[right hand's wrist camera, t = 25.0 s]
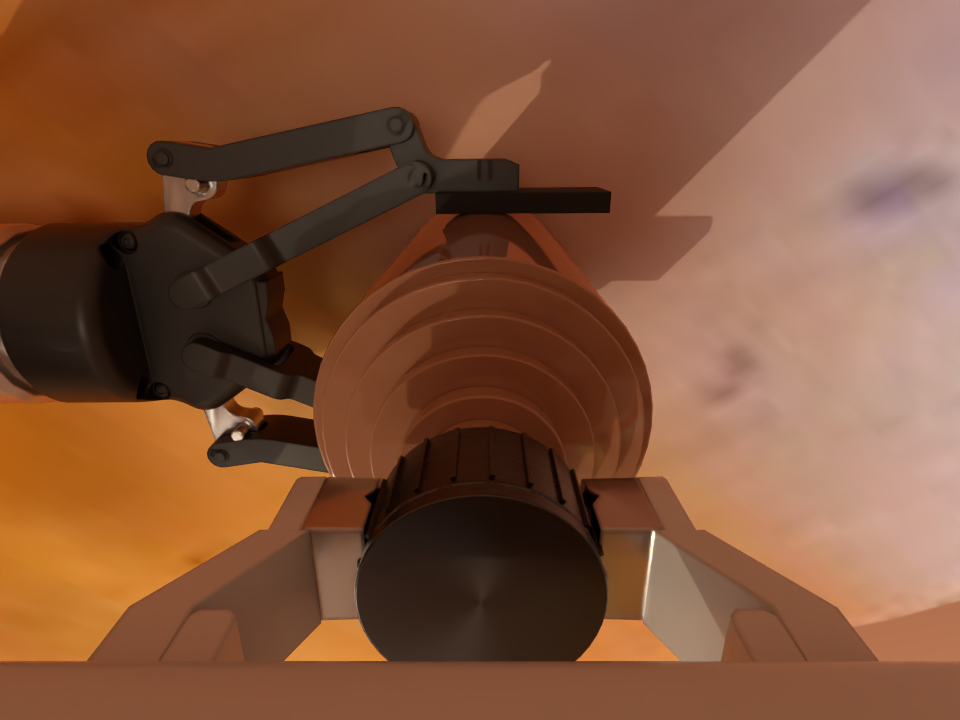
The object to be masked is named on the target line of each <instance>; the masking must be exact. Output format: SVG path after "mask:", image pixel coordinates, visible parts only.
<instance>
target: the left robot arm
mask: <svg viewBox="0 0 960 720" xmlns="http://www.w3.org/2000/svg"><path fill="white" fill-rule="evenodd" d="M389 147H390V149H391V152H392V154H393V157H394V159H395V162H396V164H397V167H398V168H396V169H394V170H393V171H391V172H389V173H387V174H385V175H383V176H381V177H379V178H377V179H375V180H373V181H371V182H369V183H367V184H365V185H363V186H361V187H359V188H357V189H355V190H353V191H351V192H349V193H347V194H345V195H344V196H342V197H340V198H338V199H336V200H334V201H332V202H330V203H328V204H326V205H324V206H322V207H320V208H318V209H316V210H314V211H312V212H310V213H308V214H306V215H304V216H302V217H300V218H298V219H296V220H295V221H293V222H291V223H289V224H287V225H285V226H283V227H281V228H279V229H277V230H275V231H273V232H271V233H269V234H267V235H265V236H263V237H261V238H259V239H257V240H254V241H252V242H250V243H246V242H245V241H243V240H242V239H240V238H238V237H237V236H235V235H234V234H232V233H231V232H229V231H228V230H226V229H225V228H223V227H222V226H220V225H219V224H217V223H216V222H214V221H212V220H211V219H209V218H208V217H206V216H205V215H203V214H202V213H201V207H202V205H203V203H204V202H205V201H206V200H209V199H214V198H219V197H221V196H222V195H223V194H224V193H225V191H226V189H227V181H228V180H235V179H243V178H250V177H257V176H262V175H266V174H271V173H275V172H280V171H284V170H289V169H294V168H298V167H303V166H307V165H312V164H316V163H321V162H325V161H330V160H334V159H339V158H344V157H348V156H353V155H357V154H362V153H366V152H371V151H375V150H380V149H385V148H389ZM147 159H148V163H149V164H150V166H151V167H152V169H153V170H155V171H156V172H157V173H159V174H162V175H163V191H164V213H161V214H159V215H157V216H155V217H154V218H152V219H151V220H149V221H147V222H136V223H53V224H48V225H44V226H41V225H36V224H32V223H6V224H0V403H48V402H55V401H61V402H148V401H157V400H177V401H180V402H183V403H186V404H188V405H190V406H192V407H195V408H198V409H202V410H204V411H205V414H206V417H207V419H208V422H209V425H210V427H211V430H212V433H213V435H214V438H215V442H214V443H213V444H212V445H211V446H210V448H209V449H208V452H207V455H208V459H209V460H210V462H211V463H213V464H214V465H216V466H218V467H230V466H237V465H244V464H251V463H258V462H264V463H270V464H277V465H283V466H289V467H295V468H302V469H308V470H314V471H320V472H327V473H329V472H328V470H327V468H326V466H325V464H324V462H323V459H322V456H321V453H320V450H319V447H318V443H317V438H316V432H315V427H314V420H313V419H307V418H301V417H295V416H288V415H263V411H262V410H261V409H260V408H258V407H254V408H246V407H242V406H240V405H239V404H237V402H236V401H235V400H234V398H233V397H235V396H236V395H237V394H239V393H240V392H241V391H243V390H244V389H245V388H248V389H251V390H254V391H256V392H259V393H261V394H264V395H266V396H269V397H272V398H275V399H281V400H282V399H293V400H296V401H298V402H301V403H303V404H306V405H309V406H311V407H313V401H314V392H315V383H316V380H317V376H318V372H319V368H320V364H321V362H322V359H323V358H321V357H319V356H317V355H315V354H314V353H313V351H312V350H311V349H310V348H308V347H306V346H304V345H302V344H299V343H297V342H294V341H292V340H291V333H290V325H289V322H288V319H287V317H286V314H285V312H284V309H283V306H282V304H283V297H284V290H285V287H284V280H283V272H278V271H277V269H276V267H277V266H279V265H281V264H283V263H285V262H287V261H289V260H291V259H293V258H295V257H297V256H299V255H301V254H303V253H305V252H307V251H309V250H311V249H313V248H315V247H317V246H319V245H321V244H323V243H325V242H327V241H329V240H331V239H333V238H335V237H337V236H339V235H341V234H343V233H345V232H347V231H349V230H351V229H353V228H355V227H357V226H359V225H361V224H363V223H365V222H367V221H369V220H371V219H373V218H375V217H377V216H379V215H381V214H383V213H385V212H387V211H389V210H391V209H393V208H395V207H397V206H399V205H401V204H403V203H405V202H407V201H409V200H411V199H413V198H415V197H417V196H419V195H421V194H424V193H435V194H436V214H520V213H610V201H611V192H610V191H607V190H604V189H601V188H598V187H557V188H519V164H516V163H514V162H511V161H509V160H507V159H442V158H439V157H436V156H435V155H434V154H432V153H431V151H430V150H429V149H428V147H427V145H426V142H425V139H424V137H423V134H422V132H421V129H420V124H419V122H418V119H417V118H416V117H415V116H414V114H412V113H410V112H409V111H407V110H405V109H402V108H400V107H391V108H386V109H382V110H377V111H373V112H368V113H364V114H359V115H355V116H351V117H346V118H342V119H337V120H333V121H328V122H324V123H319V124H315V125H311V126H306V127H302V128H297V129H293V130H288V131H284V132H279V133H275V134H271V135H266V136H262V137H257V138H253V139H248V140H244V141H239V142H235V143H231V144H226V145H222V146H219V145H213V144H206V143H200V142H188V141H156V142H154V143H152V144H151V145H150V146H149V148H148V150H147ZM275 364H276V365H275Z"/></svg>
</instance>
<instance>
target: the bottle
mask: <svg viewBox="0 0 960 720" xmlns="http://www.w3.org/2000/svg"><path fill="white" fill-rule="evenodd" d="M652 410H653V404H652V394H651V385H650V381H649V377H648V373H647V369H646V365H645V363H644V360H643V358H642V356H641V353H640V351H639V348H638V346H637V344H636V343H635V341H634V339H633V338H632V336H631V334H630V333H629V331H628V329H627V328H626V326H625V325H624V324H623V323H622V321H621V320H620V319H619V318H618V316H617V315H616V314H615V313H614V312H613V310H612V309H611V308H610V307H609V305H608V304H607V303H606V302H605V300H604V299H603V298H602V297H601V296H600V294H599V293H598V292H597V291H596V289H595V288H594V287H593V286H592V284H591V283H590V282H589V281H588V279H587V278H586V277H585V276H584V275H583V273H582V272H581V271H580V270H579V268H578V267H577V266H576V265H575V263H574V262H573V261H572V260H571V259H570V257H569V256H568V255H567V254H566V252H565V251H564V250H563V249H562V247H561V246H560V245H559V244H558V242H557V241H556V240H555V239H554V238H553V236H552V235H551V234H550V233H549V231H548V230H547V229H546V228H545V227H544V225H543V224H542V223H541V222H540V221H539V220H538V219H537V218H536V217H535V216H533V215H532V214H530V213H520V214H436V215H434V216H433V217H432V218H431V219H430V220H429V221H428V222H427V223H426V224H425V225H424V226H423V227H422V229H421V230H420V231H419V232H418V233H417V235H416V236H415V237H414V238H413V239H412V241H411V242H410V243H409V244H408V245H407V247H406V248H405V249H404V250H403V251H402V252H401V254H400V255H399V256H398V257H397V258H396V260H395V261H394V262H393V263H392V264H391V266H390V267H389V268H388V269H387V270H386V272H385V273H384V274H383V275H382V276H381V278H380V279H379V280H378V281H377V282H376V283H375V285H374V286H373V287H372V288H371V289H370V291H369V292H368V293H367V294H366V295H365V297H364V298H363V299H362V300H361V301H360V303H359V304H358V305H357V306H356V307H355V309H354V310H353V311H352V312H351V313H350V315H349V316H348V317H347V318H346V319H345V321H344V322H343V323H342V324H341V325H340V327H339V329H338V330H337V332H336V333H335V335H334V337H333V338H332V340H331V342H330V343H329V345H328V348H327V350H326V352H325V355H324V357H323V359H322V362H321V364H320V368H319V372H318V376H317V380H316V383H315V392H314V401H313V412H314V427H315V432H316V438H317V443H318V447H319V450H320V453H321V456H322V459H323V462H324V464H325V466H326V468H327V470H328V472H329V474H330V476H331V477H353V478H381V479H382V480H383V479H387V477H388V476H389V474H390V473H391V471H392V470H393V468H394V467H395V466H396V465H397V462H398V458H399V457H400V456H401V455H402V456H403V457H404V456H405V455H406V454H407V453H409V452H410V451H411V450H412V449H413V448H414V447H417V445H419V444H421V443H423V440H424V439H425V438H428V439H431V438H433V437H435V436H437V435H440V434H443V433H446V432H448V431H452V430H455V428H458V427H460V429H462V428H472V427H489V426H494V427H495V428H499V429H506V430H510V431H513V432H517V433H520V434H522V432H523V433H526V434H527V436H529V437H531V438H533V439H534V440H536V441H538V442H540V443H541V444H543V445H545V446H546V447H548V448H549V449H550V448H551V447H552V448H553V449H555V452H556V454H557V455H558V456H559V457H560V458H561V459H562V460H563V461H564V462H565V463H566V464H567V466H568V467H569V468H570V470H572V469H574V470H575V471H576V474H577V478H578V482H579V485H580V484H581V479H599V478H635V476H636V474H637V472H638V471H639V469H640V467H641V464H642V461H643V459H644V456H645V453H646V450H647V447H648V443H649V438H650V432H651V427H652Z"/></svg>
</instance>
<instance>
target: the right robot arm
mask: <svg viewBox="0 0 960 720" xmlns="http://www.w3.org/2000/svg"><path fill="white" fill-rule="evenodd" d="M381 482H382V479H381V478H353V477H328V478H327V477H301V478H298V479H297V480H296V481H295V483H294V485H293V487H292V488H291V490H290V492H289V494H288V496H287V497H286V499H285V501H284V503H283V504H282V506H281V508H280V510H279V512H278V513H277V515H276V517H275V519H274V520H273V522H272V524H271V526H270V528H269V529H268V530H259V531H257V532H256V533H254V534H252V535H250V536H249V537H247V538H245V539H244V540H242V541H240V542H239V543H237V544H235V545H233V546H232V547H230V548H228V549H227V550H225V551H223V552H221V553H220V554H218V555H216V556H215V557H213V558H211V559H210V560H208V561H206V562H204V563H203V564H201V565H199V566H198V567H196V568H194V569H192V570H191V571H189V572H187V573H186V574H184V575H182V576H181V577H179V578H177V579H175V580H174V581H172V582H170V583H169V584H167V585H165V586H163V587H162V588H160V589H158V590H157V591H155V592H153V593H152V594H150V595H148V596H146V597H145V598H143V599H141V600H140V601H138V602H136V603H134V604H133V605H131V606H129V607H128V609H127V610H126V611H125V612H124V614H123V615H122V616H121V618H120V619H119V620H118V622H117V623H116V624H115V625H114V627H113V628H112V629H111V631H110V632H109V633H108V634H107V636H106V637H105V638H104V640H103V641H102V642H101V643H100V645H99V646H98V647H97V649H96V650H95V651H94V653H93V654H92V655H91V656H90V658H89V659H88V660H87V661H0V720H960V661H879V660H878V659H877V658H876V657H875V655H874V654H873V653H872V651H871V650H870V649H869V648H868V646H867V645H866V644H865V642H864V641H863V640H862V639H861V637H860V636H859V635H858V633H857V632H856V631H855V630H854V628H853V627H852V626H851V624H850V623H849V622H848V621H847V619H846V618H845V617H844V615H843V614H842V613H841V612H840V610H839V609H838V608H837V607H835V606H834V605H832V604H830V603H829V602H827V601H825V600H823V599H822V598H820V597H818V596H817V595H815V594H813V593H811V592H810V591H808V590H806V589H805V588H803V587H801V586H800V585H798V584H796V583H794V582H793V581H791V580H789V579H788V578H786V577H784V576H782V575H781V574H779V573H777V572H776V571H774V570H772V569H770V568H769V567H767V566H765V565H764V564H762V563H760V562H758V561H757V560H755V559H753V558H752V557H750V556H748V555H746V554H745V553H743V552H741V551H740V550H738V549H736V548H734V547H733V546H731V545H729V544H728V543H726V542H724V541H722V540H721V539H719V538H717V537H716V536H714V535H712V534H710V533H709V532H707V531H705V530H696V529H695V527H694V525H693V524H692V522H691V520H690V519H689V517H688V515H687V513H686V512H685V510H684V508H683V507H682V505H681V503H680V501H679V500H678V498H677V496H676V495H675V493H674V491H673V489H672V488H671V486H670V484H669V483H668V481H667V479H666V478H664V477H662V476H660V477H636V478H599V479H581V484H580V488H581V490H582V493H583V496H584V500H585V503H586V506H588V507H590V508H591V511H592V516H591V523H592V527H593V530H594V533H595V536H596V540H597V543H598V546H599V548H601V547H602V549H603V552H604V556H600V557H601V560H602V563H603V567H604V571H605V575H606V580H607V587H608V601H607V609H606V613H605V616H604V619H622V620H643V623H644V624H645V625H646V626H647V627H648V628H649V629H650V630H651V631H652V632H653V633H654V634H655V635H656V636H657V637H658V638H659V639H660V640H661V641H662V642H663V643H664V644H665V645H666V646H667V647H668V648H669V649H670V650H671V651H672V652H673V654H674V655H675V656H676V657H677V658H678V659H679V660H680V661H284V660H285V659H286V658H287V657H288V656H289V655H290V654H291V653H292V652H293V651H294V650H295V649H296V648H297V647H298V646H299V645H300V644H301V643H302V642H303V641H304V640H305V639H306V638H307V637H308V636H309V635H310V634H311V633H312V632H313V631H314V630H315V629H316V628H317V626H318V625H319V624H320V623H321V620H341V619H359V618H358V614H357V610H356V605H355V594H354V591H355V580H356V575H357V571H358V567H356V566H357V561H361V557H362V555H363V551H364V548H365V544H366V541H367V538H365V534H366V531H367V527H368V524H369V521H370V518H371V515H372V511H373V508H374V505H375V502H376V498H377V495H378V492H379V489H380V485H381Z"/></svg>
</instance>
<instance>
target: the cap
mask: <svg viewBox="0 0 960 720" xmlns="http://www.w3.org/2000/svg"><path fill="white" fill-rule="evenodd" d="M591 516H592V511H591V508H590V507H588V506H586V503H585V500H584V496H583V493H582V490H581V488H580V485H579V482H578V478H577V474H576V471H575V470H574V469H572V470H570V468H569V467H568V466H567V464H566V463H565V462H564V461H563V460H562V459H561V458H560V457H559V456H558V455H557V454H556V452H555V449H553V448H552V447H551V448H550V449H549V448H548V447H546V446H545V445H543V444H541V443H540V442H538V441H536V440H534V439H533V438H531V437H529V436H527V434H526V433H523V432H522V434H520V433H517V432H513V431H510V430H506V429H499V428H495V427H494V426H489V427H472V428H462V429H460V427H458V428H455V430H452V431H448V432H446V433H443V434H440V435H437V436H435V437H433V438H431V439H428V438H425V439H424V440H423V443H421V444H419V445H417V447H414V448H413V449H412V450H411V451H410V452H409V453H407V454H406V455H405V456H404V457H403V456H402V455H401V456H400V457H399V458H398V462H397V465H396V466H395V467H394V468H393V470H392V471H391V473H390V474H389V476H388V477H387V479H383V480H382V482H381V485H380V489H379V492H378V495H377V498H376V502H375V505H374V508H373V511H372V515H371V518H370V521H369V524H368V527H367V531H366V534H365V538H367V541H366V544H365V548H364V551H363V555H362V557H361V561H357V566H356V567H358V571H357V575H356V580H355V591H354V594H355V605H356V610H357V614H358V618H359V621H360V623H361V625H362V628H363V630H364V632H365V634H366V635H367V637H368V639H369V640H370V642H371V643H372V644H373V646H374V647H375V648H376V649H377V651H378V652H379V653H380V654H381V655H382V656H383V657H384V658H385V659H386V660H387V661H576V660H577V659H578V658H579V657H580V656H581V655H582V654H583V653H584V652H585V651H586V650H587V649H588V648H589V646H590V645H591V643H592V642H593V640H594V639H595V637H596V636H597V634H598V632H599V630H600V628H601V625H602V623H603V620H604V616H605V613H606V609H607V601H608V587H607V580H606V575H605V571H604V567H603V563H602V560H601V557H600V556H604V552H603V549H602V547H601V548H599V546H598V543H597V540H596V536H595V533H594V530H593V527H592V523H591Z"/></svg>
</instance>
